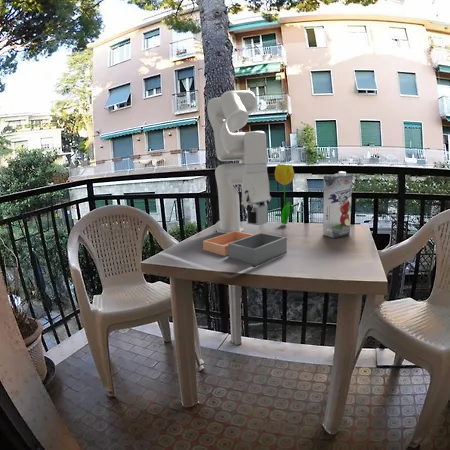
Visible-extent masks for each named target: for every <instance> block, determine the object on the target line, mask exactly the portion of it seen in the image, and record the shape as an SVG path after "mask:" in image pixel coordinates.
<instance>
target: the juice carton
mask: <svg viewBox="0 0 450 450" xmlns="http://www.w3.org/2000/svg"><path fill="white" fill-rule="evenodd" d="M353 179H354V174H351V173H347V172H346V171H342V170H341V171H338V172H337V173H334V174H330V175H329V174H327V175H326V174H325V175H323V204H322V205H323V208H322V210H323V211H322V213H323V214H322V216H323V217H322V220H323V221H322V234H323V236H327V237H330V238H333V239H338V238H339V239H340V238H343V237H346V236H350V234H351V216H352V215H351V214H352V194H353V193H352V192H353V190H352V189H353Z"/></svg>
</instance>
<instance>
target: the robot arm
mask: <svg viewBox="0 0 450 450" xmlns="http://www.w3.org/2000/svg"><path fill="white" fill-rule="evenodd" d="M256 107H257V97H256V95H255V93H254V92H253V91H251V90H247V89H246V90H245V89H244V90H241V89H240V90H238V89H237V90H227V91H225V92H223V93H222V94H221V95H220V96H219V97H212V98H211V99H209V101H208V102H207V107H206V110H207V116H208V119H209V122H210V126H211V127H212V130H213V136H214V145H215V146H214V147H215V153H216V154H215V155H216V158H217V159H218V160H219V161H220V162H232V161H234V162H235V161H238V163H237V162H235V163H234V162H233V163H224V164H223V163H222V164H219V165H218V166H217V167H216V168H215V169H214V170H215V171H214V175H215V181H216V185H217V196H218V210H219V213H218V214H219V220H217V222H216V223H215V226H218V228H217V229H216V232H217V233H222V234H227V233H230V232H233V231H238V232H244V230H245V229H244V227H242V226H241V216H240V215H241V213H240V212H241V211H240V205H241V206H242V207H243V208H244V210H245V211H246V213H247V212H248V222H247V224H248V223H253V224H255V223H256V212H254V211H255V205H257V204H258V205H264V206H267V209H268V208H269V207H268V205H269V203H270V201H271V200H272V196H271V195H270V191H271V190H270V180H269V175H268V163H267V162H268V158H267V157H268V155H267V134H266V132H265V131H263V130H253V131H246V132H244V131H243V132H241V131H239V130H240V129H242V128H243V127H245V126H246V125H247V123H248V122H249V115H251V114H252V113H253V112H254V111H255V110H256ZM237 131H239V132H237ZM234 185H241V202H240V194H239V192H238V190H237V189H236V188H235V186H234ZM251 206H252V207H251ZM253 224H252V225H253Z"/></svg>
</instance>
